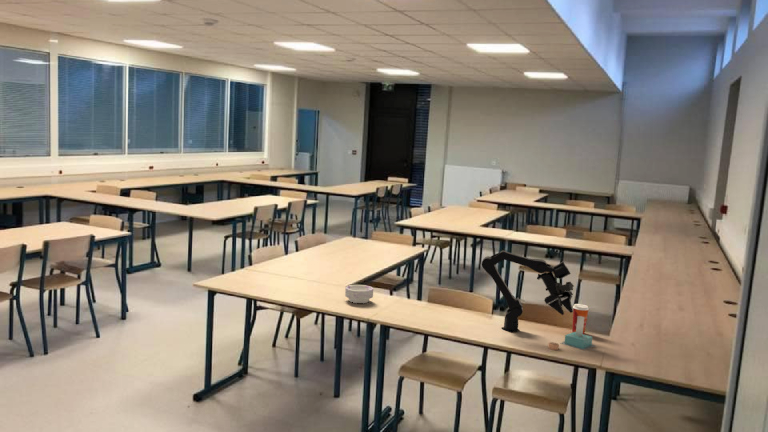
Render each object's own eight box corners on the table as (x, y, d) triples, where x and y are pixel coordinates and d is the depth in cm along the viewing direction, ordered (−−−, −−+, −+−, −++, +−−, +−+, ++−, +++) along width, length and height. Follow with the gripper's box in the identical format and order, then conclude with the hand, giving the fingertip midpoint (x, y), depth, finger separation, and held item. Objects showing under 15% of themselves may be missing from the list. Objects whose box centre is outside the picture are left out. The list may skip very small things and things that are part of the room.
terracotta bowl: (546, 348, 277) (546, 342, 277) (553, 347, 279) (553, 341, 279) (553, 351, 273) (554, 345, 273) (560, 350, 276) (561, 344, 275)
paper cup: (575, 336, 299) (578, 307, 297) (567, 331, 306) (569, 303, 304) (589, 335, 301) (592, 307, 299) (580, 330, 308) (583, 303, 307)
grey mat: (559, 343, 284) (559, 343, 284) (572, 339, 293) (572, 338, 293) (584, 351, 276) (584, 350, 276) (596, 346, 285) (596, 345, 285)
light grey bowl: (340, 298, 339) (341, 284, 338) (365, 297, 345) (366, 283, 344) (350, 306, 325) (351, 291, 324) (377, 304, 332) (378, 290, 331)
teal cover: (564, 343, 284) (567, 316, 283) (573, 339, 291) (576, 313, 289) (582, 348, 278) (585, 321, 277) (591, 345, 285) (594, 317, 283)
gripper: (556, 277, 282) (573, 307, 277) (573, 274, 296) (589, 303, 291) (537, 288, 288) (553, 318, 283) (554, 285, 303) (570, 314, 297)
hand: (567, 313), depth 288 cm, fingers open, 9 cm apart
